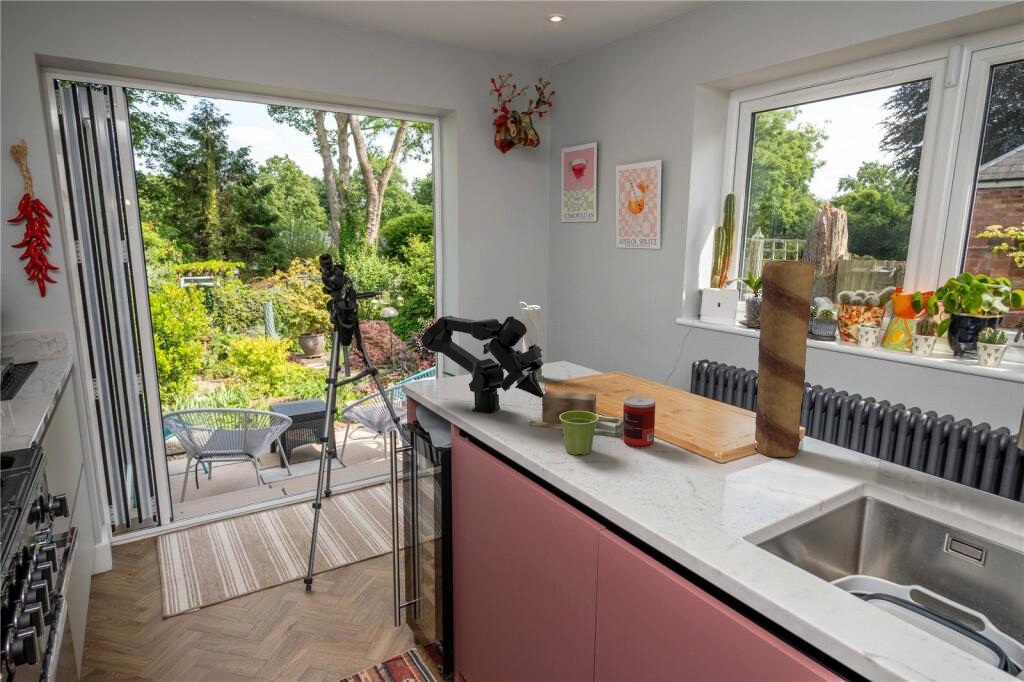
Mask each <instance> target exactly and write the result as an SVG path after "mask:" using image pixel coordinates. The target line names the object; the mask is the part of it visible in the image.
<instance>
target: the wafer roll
mask: <svg viewBox="0 0 1024 682" xmlns="http://www.w3.org/2000/svg"><path fill="white" fill-rule="evenodd" d="M814 281H815V265H814V263H813V262H809V261H806V262H804V261H796V260H795V261H793V260H788V259H781V260H778V259H777V260H768V261H767V260H766V262H765V263H764V265H763V267H762V274H761V285H762V286H761V314H760V318H759V320H760V321H759V322H760V331H759V341H758V358H757V359H758V360H757V361H758V367H757V375H758V377H757V379H758V381H757V395H756V396H757V397H756V405H755V406H756V407H755V413H756V414H755V432H754V439H755V440H756V441H757V442H758V445H757V450H756V451H757V453H758V454H760V455H763V456H765V457H768V458H786V459H787V458H793V457H795V456H796V455H798V454H799V447H800V443H801V437H800V431H801V416H802V414H801V413H802V412H801V409H802V404H803V398H804V393H805V381H806V380H805V379H806V362H807V339H808V334H809V326H810V315H811V309H812V308H811V301H812V300H811V299H812V295H813V286H814ZM755 440H754V441H755Z"/></svg>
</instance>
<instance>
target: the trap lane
mask: <svg viewBox="0 0 1024 682" xmlns="http://www.w3.org/2000/svg"><path fill="white" fill-rule="evenodd" d="M598 417H599V420H598V421H600V422H601V421H602V422H611V423H616V424H615V425H614V431H613V430H607V429H599V428H595V430H594V435H602V436H608V437H615V438H619V437H620V436H621V435H622V434H623V416H621V417H620V418H621V419H620V420H619V419H617V418H618V417H613V416H606V415H605V416H603V415H598ZM529 426H534V427H541V428H542V427H543V428H549V429H557V430H563V425H562V424H554V423H547V422H542V421H537V420H530V421H529ZM562 437H564V433H563V434H562Z"/></svg>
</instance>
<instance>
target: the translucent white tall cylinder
mask: <svg viewBox="0 0 1024 682" xmlns="http://www.w3.org/2000/svg"><path fill="white" fill-rule="evenodd" d="M522 304H523V305H525V306H526V307H522ZM519 306H520V321H521V322H522V323H523V324H524V325H525V326H526V329H527V332H526V333H525V335H524V336H523V337H522V349H521V352H522V353H524V352H526V351H529V347H530V346H532V345H534V344H535V345H537V346H539V348H541V342H540V336H539V334H540V328H541V321H542V318H541V316H542V308H541V306H539V305H534V304H533V305H529V304H527V303H526V302H524V301H519ZM539 359H540V360H541V361H542V357H540V358H539ZM542 372H543V369H542V366H541V367H540V368H539V369H538V371H537V375H536V378H537V381H538V382H543V380H544V377H545V374H543V373H542Z"/></svg>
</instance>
